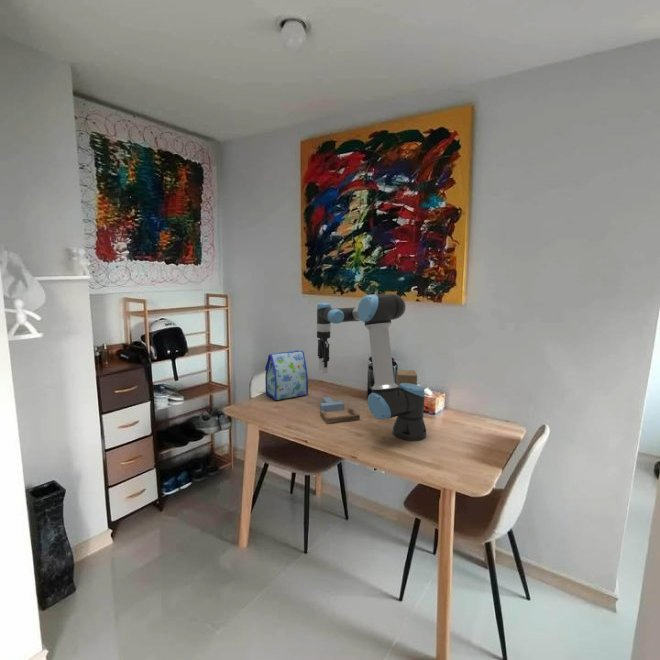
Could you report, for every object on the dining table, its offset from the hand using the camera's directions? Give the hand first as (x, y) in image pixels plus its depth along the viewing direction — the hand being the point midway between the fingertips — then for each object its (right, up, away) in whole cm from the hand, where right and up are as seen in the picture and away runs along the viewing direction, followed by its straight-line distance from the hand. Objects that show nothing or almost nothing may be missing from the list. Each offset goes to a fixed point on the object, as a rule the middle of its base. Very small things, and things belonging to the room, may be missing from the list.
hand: (323, 371), depth 219 cm
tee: (+4, -19, -8) cm, 21 cm away
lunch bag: (-22, -15, +10) cm, 29 cm away
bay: (+8, -21, -22) cm, 32 cm away
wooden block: (+45, -19, -8) cm, 49 cm away
